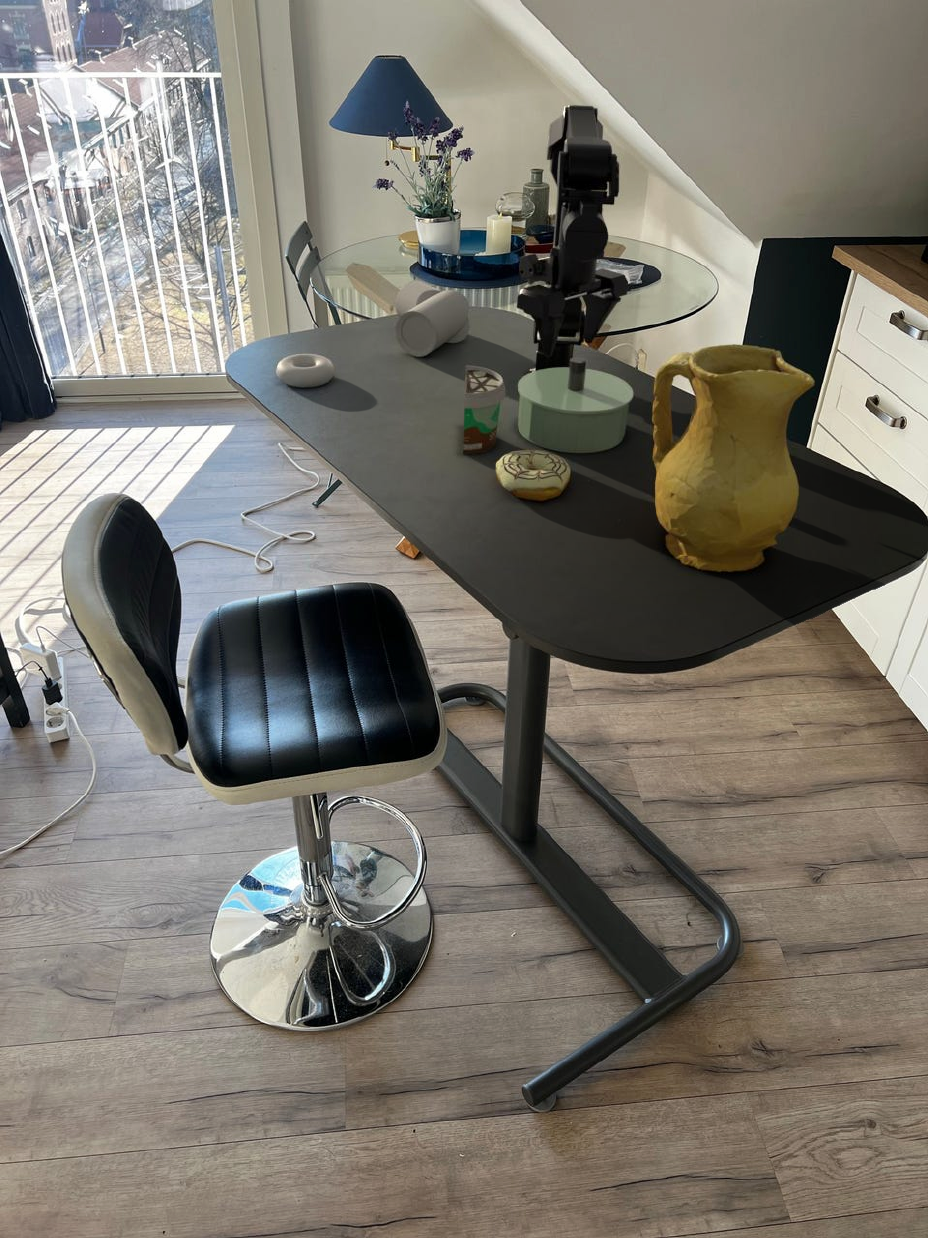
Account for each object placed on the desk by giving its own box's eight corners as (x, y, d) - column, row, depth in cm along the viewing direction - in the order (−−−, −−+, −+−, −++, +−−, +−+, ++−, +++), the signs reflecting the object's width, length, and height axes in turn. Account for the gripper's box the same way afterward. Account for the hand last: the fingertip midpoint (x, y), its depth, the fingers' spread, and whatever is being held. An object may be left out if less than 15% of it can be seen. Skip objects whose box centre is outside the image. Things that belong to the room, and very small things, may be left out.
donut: (328, 393, 156) (340, 370, 164) (326, 373, 154) (339, 352, 162) (270, 389, 157) (285, 367, 165) (268, 369, 155) (283, 348, 163)
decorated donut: (499, 504, 126) (500, 479, 124) (492, 468, 135) (493, 445, 133) (574, 503, 127) (576, 479, 125) (562, 468, 135) (564, 444, 133)
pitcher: (699, 594, 109) (741, 388, 95) (616, 527, 123) (642, 339, 110) (811, 570, 115) (865, 373, 101) (720, 509, 129) (757, 329, 116)
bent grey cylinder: (497, 339, 177) (438, 311, 189) (490, 286, 169) (430, 261, 182) (422, 376, 170) (367, 344, 183) (412, 323, 163) (355, 293, 176)
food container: (503, 459, 137) (507, 396, 131) (462, 458, 137) (464, 394, 131) (501, 425, 147) (505, 365, 141) (463, 424, 147) (465, 363, 141)
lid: (568, 365, 154) (572, 332, 150) (655, 397, 143) (661, 363, 140) (493, 391, 143) (495, 356, 140) (581, 428, 133) (585, 391, 130)
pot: (565, 400, 157) (569, 363, 153) (645, 432, 147) (652, 394, 143) (496, 426, 147) (498, 388, 143) (577, 463, 137) (581, 422, 133)
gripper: (579, 221, 140) (569, 323, 149) (492, 239, 130) (487, 347, 139) (636, 236, 134) (622, 341, 143) (550, 256, 123) (541, 368, 132)
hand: (568, 349), depth 139 cm, fingers open, 9 cm apart
